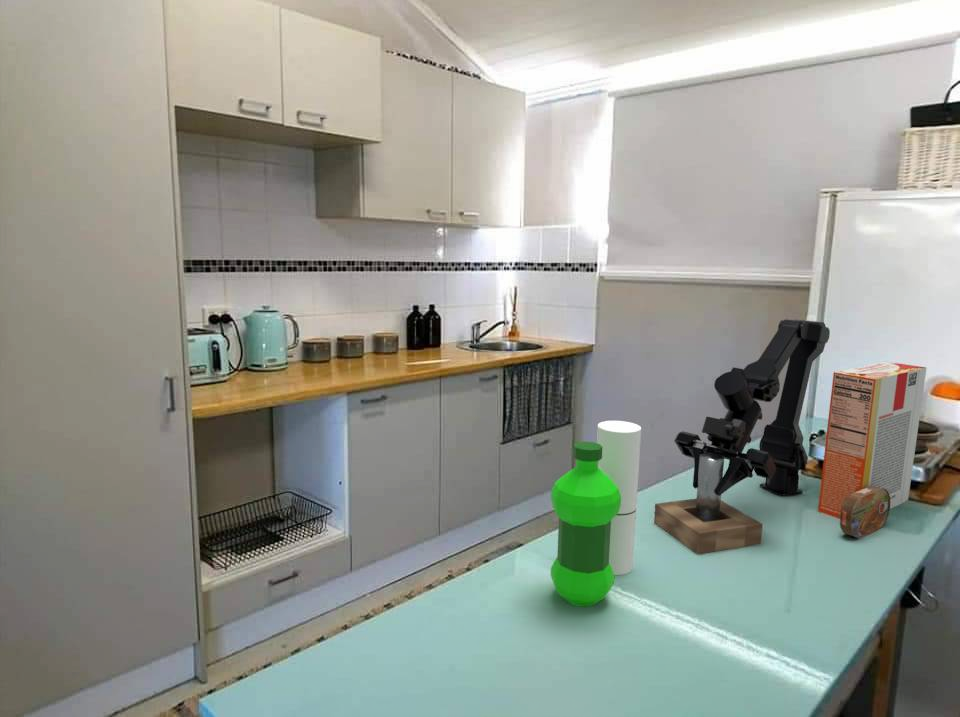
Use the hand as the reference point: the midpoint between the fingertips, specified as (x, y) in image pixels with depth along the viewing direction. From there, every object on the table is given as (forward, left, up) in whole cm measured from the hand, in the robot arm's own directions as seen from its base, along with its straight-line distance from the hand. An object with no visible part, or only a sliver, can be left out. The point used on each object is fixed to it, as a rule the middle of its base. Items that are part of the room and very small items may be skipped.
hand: (705, 490), depth 125 cm
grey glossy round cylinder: (-1, +1, -7) cm, 7 cm away
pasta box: (-2, +43, -9) cm, 44 cm away
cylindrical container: (+5, -23, -9) cm, 25 cm away
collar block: (-1, +1, -9) cm, 9 cm away
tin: (+7, +32, -9) cm, 34 cm away
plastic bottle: (+13, -33, -9) cm, 37 cm away
